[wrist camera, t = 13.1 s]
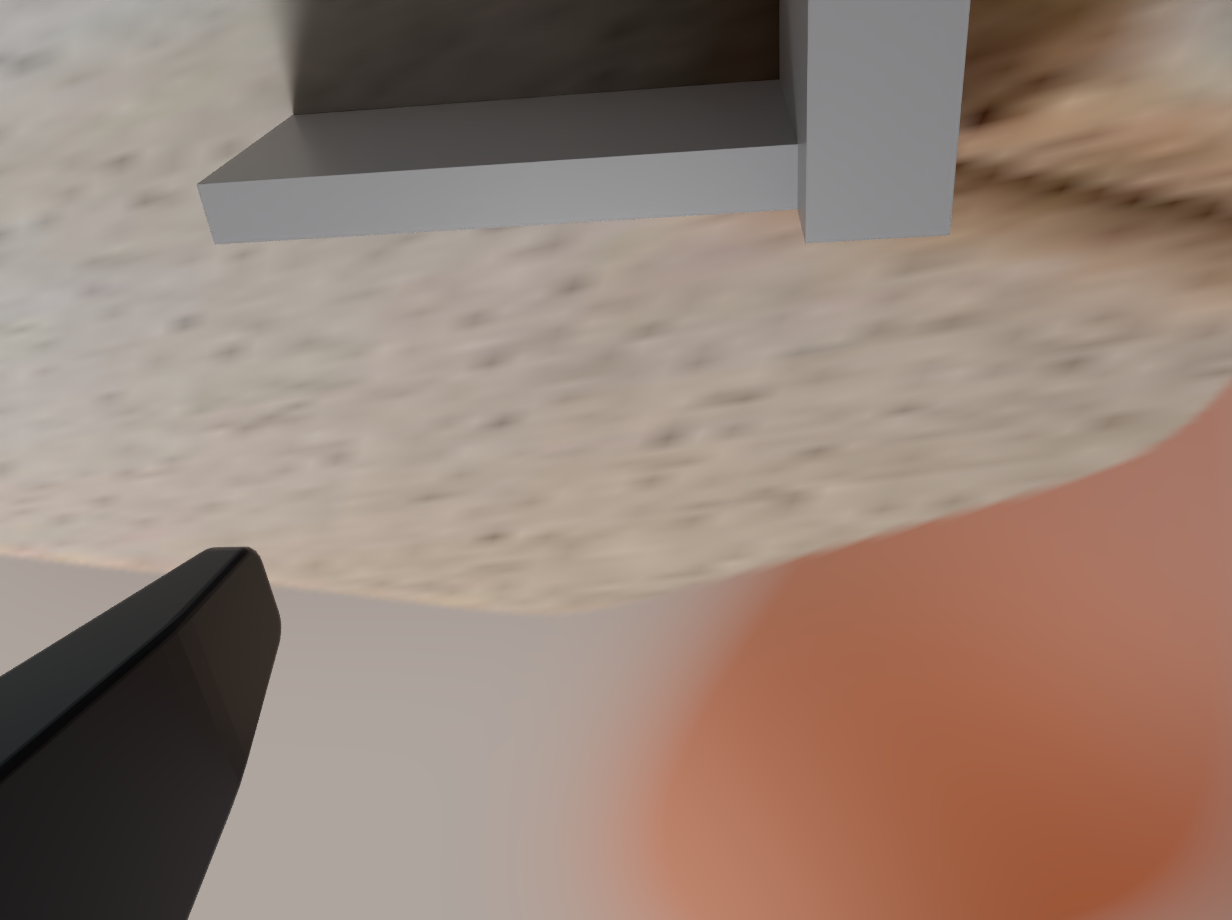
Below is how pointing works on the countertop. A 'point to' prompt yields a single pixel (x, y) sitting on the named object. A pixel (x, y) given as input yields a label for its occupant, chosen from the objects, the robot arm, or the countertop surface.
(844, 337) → the countertop surface
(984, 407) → the countertop surface
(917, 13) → the bay
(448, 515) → the countertop surface
